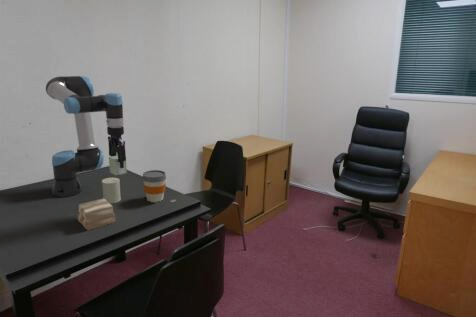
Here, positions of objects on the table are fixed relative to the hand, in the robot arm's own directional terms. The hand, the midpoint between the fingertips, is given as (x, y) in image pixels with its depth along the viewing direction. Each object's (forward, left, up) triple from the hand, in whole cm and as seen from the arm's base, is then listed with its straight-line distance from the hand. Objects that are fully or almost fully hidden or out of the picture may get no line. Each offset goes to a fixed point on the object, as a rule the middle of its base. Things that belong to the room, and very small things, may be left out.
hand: (118, 171), depth 172 cm
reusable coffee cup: (-2, +21, -21) cm, 30 cm away
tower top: (+5, -14, -17) cm, 22 cm away
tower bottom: (+5, -14, -21) cm, 26 cm away
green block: (0, 0, 0) cm, 0 cm away
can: (-15, +2, -21) cm, 26 cm away
